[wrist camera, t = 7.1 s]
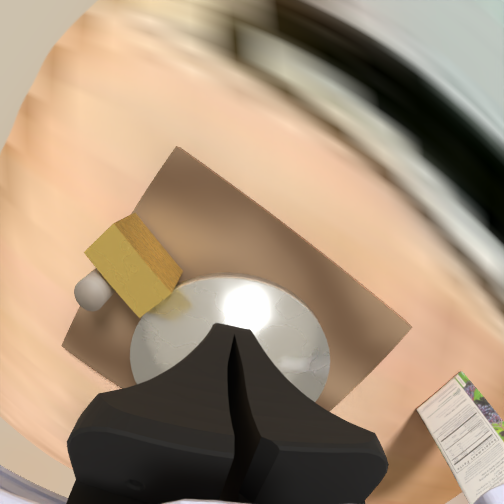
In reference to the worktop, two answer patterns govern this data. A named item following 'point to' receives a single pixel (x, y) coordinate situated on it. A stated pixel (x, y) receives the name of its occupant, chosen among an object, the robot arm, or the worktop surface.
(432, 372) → the worktop surface
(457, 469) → the syrup box
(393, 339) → the post board
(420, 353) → the worktop surface
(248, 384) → the robot arm
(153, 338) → the small silver pan
